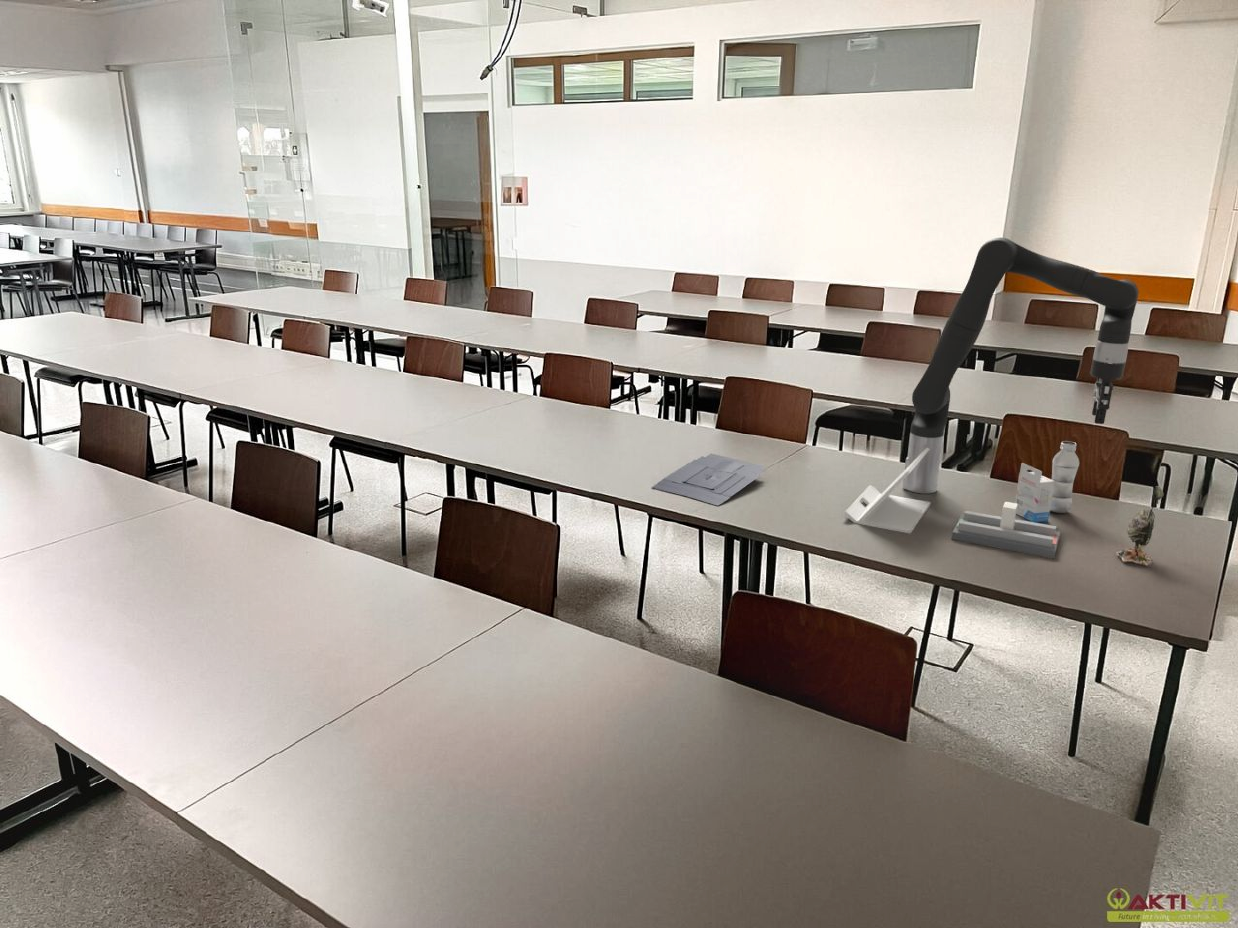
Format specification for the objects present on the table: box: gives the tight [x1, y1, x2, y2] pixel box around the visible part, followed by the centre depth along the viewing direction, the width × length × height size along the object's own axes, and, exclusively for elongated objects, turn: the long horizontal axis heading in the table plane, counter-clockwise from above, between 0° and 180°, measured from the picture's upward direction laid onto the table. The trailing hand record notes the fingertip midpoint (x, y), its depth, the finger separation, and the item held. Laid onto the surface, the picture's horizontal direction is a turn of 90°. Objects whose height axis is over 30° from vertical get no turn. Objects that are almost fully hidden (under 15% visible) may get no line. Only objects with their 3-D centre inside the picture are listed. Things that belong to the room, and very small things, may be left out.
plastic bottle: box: [1050, 440, 1080, 514], centre depth 240 cm, size 6×7×20 cm
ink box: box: [1014, 462, 1055, 523], centre depth 237 cm, size 8×5×15 cm, turn 14°
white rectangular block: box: [1000, 501, 1018, 530], centre depth 223 cm, size 3×4×7 cm
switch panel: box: [951, 510, 1061, 559], centre depth 224 cm, size 24×14×4 cm, turn 60°
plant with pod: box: [1116, 485, 1164, 567], centre depth 210 cm, size 8×11×20 cm
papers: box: [651, 453, 768, 507], centre depth 264 cm, size 24×30×4 cm
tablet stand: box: [843, 447, 931, 534], centre depth 240 cm, size 18×25×17 cm
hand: (1097, 419), depth 230 cm, fingers open, 8 cm apart
